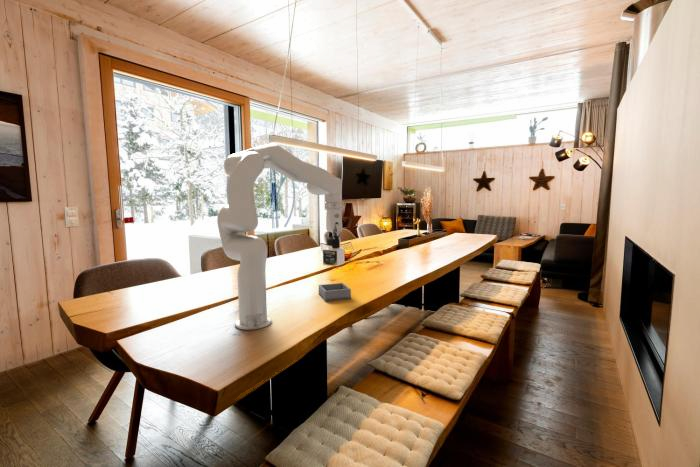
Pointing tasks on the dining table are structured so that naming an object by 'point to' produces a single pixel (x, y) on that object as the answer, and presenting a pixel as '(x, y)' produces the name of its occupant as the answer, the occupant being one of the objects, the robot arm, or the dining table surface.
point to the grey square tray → (334, 292)
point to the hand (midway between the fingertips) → (333, 246)
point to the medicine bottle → (333, 254)
